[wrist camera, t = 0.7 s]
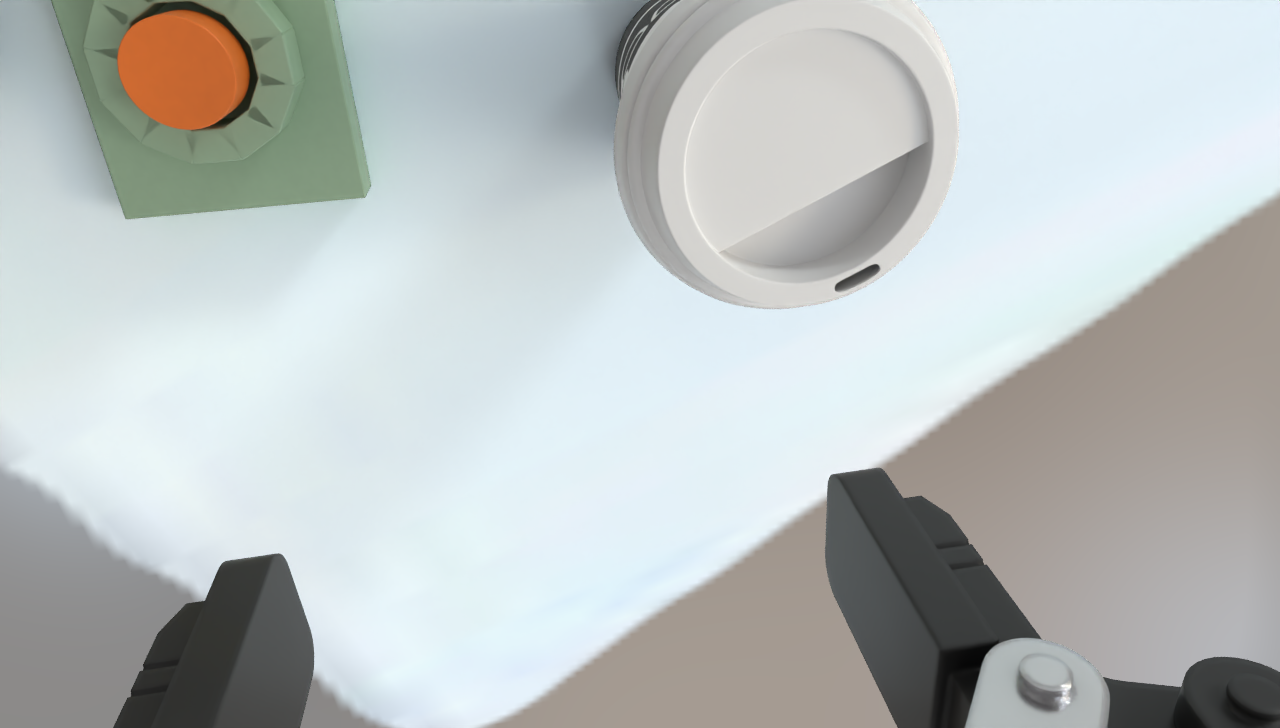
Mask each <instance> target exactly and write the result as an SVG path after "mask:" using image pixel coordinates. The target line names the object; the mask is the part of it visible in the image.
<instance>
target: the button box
mask: <svg viewBox="0 0 1280 728" xmlns="http://www.w3.org/2000/svg"><path fill="white" fill-rule="evenodd" d="M51 2H52V5H53V8H54V10H55V13H56V16H57V19H58V22H59V25H60V28H61V31H62V34H63V37H64V40H65V43H66V46H67V49H68V52H69V55H70V57H71V60H72V63H73V66H74V69H75V72H76V75H77V78H78V81H79V84H80V87H81V90H82V93H83V96H84V99H85V102H86V104H87V107H88V110H89V113H90V116H91V119H92V122H93V125H94V128H95V131H96V134H97V137H98V140H99V143H100V146H101V149H102V151H103V154H104V157H105V160H106V163H107V166H108V169H109V172H110V175H111V178H112V181H113V184H114V187H115V190H116V193H117V196H118V198H119V201H120V204H121V207H122V210H123V213H124V216H125V218H126V219H135V218H146V217H157V216H168V215H179V214H190V213H201V212H212V211H223V210H234V209H245V208H256V207H267V206H278V205H289V204H300V203H311V202H322V201H333V200H344V199H355V198H365V197H366V195H367V193H368V191H369V189H370V187H371V182H370V177H369V172H368V167H367V162H366V157H365V152H364V147H363V142H362V137H361V132H360V127H359V122H358V117H357V112H356V107H355V102H354V97H353V92H352V87H351V82H350V77H349V72H348V67H347V62H346V58H345V53H344V48H343V43H342V38H341V33H340V28H339V23H338V18H337V13H336V8H335V3H334V0H51ZM172 10H192V11H196V12H200V13H203V14H205V15H208V16H210V17H212V18H214V19H216V20H217V21H219V22H220V23H222V24H223V25H224V26H225V27H226V28H228V29H229V30H230V31H231V33H232V34H233V35H234V36H235V37H236V39H237V40H238V41H239V43H240V44H241V46H242V48H243V50H244V52H245V54H246V57H247V60H248V65H249V72H250V79H249V86H248V90H247V93H246V95H245V97H244V99H243V100H242V102H241V103H240V104H239V106H238V107H237V108H235V109H234V110H233V111H232V112H230V113H229V114H228V115H226V116H225V117H224V118H222V119H221V120H219V121H218V122H216V123H215V124H213V125H211V126H208V127H205V128H202V129H195V130H184V129H177V128H172V127H169V126H166V125H163V124H161V123H159V122H157V121H155V120H154V119H152V118H150V117H149V116H148V115H146V114H145V113H144V112H143V111H141V110H140V109H139V108H138V107H137V106H136V105H135V103H134V102H133V101H132V100H131V98H130V97H129V96H128V94H127V93H126V91H125V89H124V87H123V85H122V82H121V79H120V76H119V72H118V65H117V55H118V49H119V46H120V43H121V40H122V39H123V37H124V35H125V34H126V32H127V31H128V30H129V29H130V28H131V27H132V26H133V25H134V24H136V23H137V22H139V21H140V20H142V19H145V18H147V17H151V16H154V15H157V14H161V13H164V12H168V11H172Z"/></svg>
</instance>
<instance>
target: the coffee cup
mask: <svg viewBox="0 0 1280 728" xmlns="http://www.w3.org/2000/svg"><path fill="white" fill-rule="evenodd" d="M615 79H616V87H617V93H618V98H619V107H618V112H617V117H616V124H615V133H614V165H615V174H616V180H617V185H618V189H619V193H620V197H621V200H622V203H623V206H624V209H625V211H626V214H627V216H628V218H629V221H630V223H631V225H632V227H633V229H634V230H635V232H636V234H637V235H638V237H639V239H640V240H641V242H642V243H643V244H644V246H645V247H646V248H647V250H648V251H649V252H650V253H651V255H652V256H653V257H654V258H655V259H656V260H657V261H658V262H659V263H660V264H661V265H662V266H663V267H664V268H665V269H666V270H667V271H669V272H670V273H671V274H672V275H674V276H675V277H676V278H678V279H679V280H681V281H682V282H684V283H685V284H687V285H688V286H690V287H692V288H694V289H696V290H698V291H700V292H702V293H704V294H706V295H708V296H710V297H713V298H715V299H718V300H721V301H724V302H727V303H731V304H735V305H739V306H744V307H751V308H763V309H786V308H796V307H803V306H810V305H816V304H821V303H825V302H829V301H833V300H836V299H839V298H842V297H844V296H847V295H849V294H852V293H854V292H856V291H858V290H860V289H862V288H864V287H866V286H868V285H869V284H871V283H873V282H874V281H876V280H877V279H879V278H880V277H882V276H883V275H885V274H886V273H887V272H889V271H890V270H891V269H892V268H894V267H895V266H896V265H897V264H898V263H899V262H900V261H901V260H903V259H904V258H905V257H906V256H907V255H908V254H909V253H910V251H911V250H912V249H913V248H914V247H915V246H916V245H917V244H918V242H919V241H920V240H921V239H922V237H923V236H924V235H925V233H926V232H927V230H928V229H929V227H930V226H931V224H932V223H933V221H934V219H935V218H936V216H937V214H938V212H939V210H940V208H941V206H942V204H943V202H944V200H945V197H946V195H947V192H948V190H949V187H950V184H951V181H952V177H953V174H954V170H955V165H956V160H957V153H958V143H959V106H958V96H957V90H956V84H955V79H954V75H953V71H952V67H951V64H950V61H949V58H948V55H947V53H946V50H945V48H944V46H943V44H942V42H941V40H940V38H939V36H938V34H937V32H936V30H935V29H934V27H933V26H932V24H931V23H930V21H929V20H928V18H927V17H926V16H925V14H924V13H923V12H922V11H921V9H920V8H919V7H918V6H917V5H916V3H915V2H914V1H913V0H651V1H649V2H648V3H647V4H646V5H645V6H643V7H642V8H641V9H640V10H639V12H638V13H637V14H636V15H635V16H634V18H633V19H632V20H631V22H630V23H629V25H628V27H627V28H626V30H625V32H624V34H623V37H622V39H621V42H620V45H619V48H618V52H617V57H616V66H615Z"/></svg>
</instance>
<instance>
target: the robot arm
mask: <svg viewBox="0 0 1280 728" xmlns="http://www.w3.org/2000/svg"><path fill="white" fill-rule="evenodd" d="M825 558H826V568H827V573H828V578H829V582H830V586H831V589H832V592H833V594H834V597H835V599H836V601H837V603H838V605H839V607H840V609H841V611H842V613H843V615H844V617H845V619H846V622H847V623H848V626H849V628H850V630H851V632H852V634H853V636H854V638H855V640H856V642H857V644H858V646H859V648H860V651H861V653H862V655H863V657H864V659H865V661H866V663H867V665H868V667H869V669H870V671H871V673H872V675H873V677H874V680H875V682H876V684H877V686H878V688H879V690H880V692H881V694H882V696H883V698H884V700H885V702H886V704H887V706H888V709H889V711H890V713H891V715H892V717H893V719H894V721H895V723H896V725H897V727H898V728H1280V672H1278V671H1276V670H1274V669H1272V668H1270V667H1267V666H1264V665H1262V664H1259V663H1256V662H1253V661H1249V660H1245V659H1240V658H1232V657H1213V658H1208V659H1204V660H1202V661H1199V662H1197V663H1195V664H1194V665H1193V666H1191V667H1190V668H1189V670H1188V671H1187V672H1186V675H1185V677H1184V680H1183V683H1182V686H1181V687H1174V686H1165V685H1155V684H1145V683H1136V682H1126V681H1118V680H1113V679H1109V678H1105V677H1102V675H1101V674H1100V673H1099V671H1098V670H1097V669H1096V668H1095V667H1094V666H1093V665H1092V664H1091V663H1090V662H1089V661H1087V660H1086V659H1085V658H1084V657H1082V656H1081V655H1079V654H1078V653H1076V652H1074V651H1073V650H1070V649H1069V648H1067V647H1064V646H1062V645H1059V644H1057V643H1054V642H1050V641H1046V640H1042V639H1041V638H1040V636H1039V635H1038V633H1037V632H1036V631H1035V629H1034V628H1033V627H1032V625H1031V624H1030V623H1029V621H1028V620H1027V619H1026V617H1025V616H1024V615H1023V613H1022V612H1021V611H1020V609H1019V608H1018V606H1017V605H1016V604H1015V602H1014V601H1013V600H1012V598H1011V597H1010V596H1009V594H1008V593H1007V592H1006V590H1005V589H1004V588H1003V586H1002V585H1001V583H1000V582H999V581H998V579H997V578H996V577H995V575H994V574H993V572H992V571H991V570H990V568H989V567H988V566H987V565H984V563H983V559H982V558H981V556H980V555H979V554H978V552H977V551H976V549H975V548H974V547H973V545H971V544H970V545H969V543H968V539H967V537H966V536H965V535H964V533H963V532H962V530H961V529H960V528H959V526H958V525H957V524H956V522H955V521H954V520H953V519H952V517H951V516H950V515H949V514H948V513H946V512H945V511H943V510H942V509H940V508H939V507H937V506H936V505H934V504H933V503H931V502H930V501H928V500H927V499H925V498H924V497H922V496H916V497H909V498H903V497H902V496H901V494H900V493H899V492H898V490H897V489H896V487H895V486H894V484H893V483H892V481H891V480H890V478H889V477H888V475H887V474H886V473H885V471H884V470H883V469H881V468H873V469H866V470H859V471H853V472H846V473H839V474H832V475H831V476H830V478H829V481H828V489H827V519H826V547H825ZM143 667H144V669H143V671H140V672H139V674H138V677H137V679H136V681H135V683H134V685H133V687H132V689H131V697H129V698H127V700H126V702H125V704H124V706H123V708H122V710H121V713H120V715H119V717H118V719H117V721H116V723H115V725H114V727H113V728H300V725H301V721H302V717H303V713H304V709H305V705H306V701H307V697H308V693H309V689H310V685H311V681H312V676H313V670H314V647H313V639H312V634H311V631H310V628H309V625H308V622H307V619H306V616H305V613H304V610H303V607H302V604H301V601H300V598H299V595H298V593H297V590H296V587H295V584H294V581H293V578H292V575H291V572H290V569H289V566H288V564H287V561H286V560H285V558H284V557H283V555H281V554H279V553H278V554H271V555H264V556H258V557H251V558H244V559H237V560H230V561H225V562H223V563H222V564H221V566H220V567H219V569H218V572H217V574H216V576H215V579H214V581H213V583H212V586H211V588H210V590H209V593H208V595H207V597H206V600H205V601H201V602H194V603H188V604H186V605H185V606H184V607H183V608H182V609H181V610H180V611H179V612H178V613H177V614H176V615H175V616H174V617H173V618H172V619H171V620H170V621H169V622H168V623H167V624H166V625H165V627H164V628H163V629H162V630H161V631H160V632H159V633H158V634H157V636H156V639H155V641H154V643H153V645H152V647H151V649H150V651H149V653H148V655H147V658H146V660H145V662H144V664H143Z"/></svg>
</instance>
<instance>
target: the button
mask: <svg viewBox="0 0 1280 728" xmlns="http://www.w3.org/2000/svg"><path fill="white" fill-rule="evenodd" d="M117 65H118V72H119V76H120V79H121V82H122V85H123V87H124V89H125V91H126V93H127V94H128V96H129V97H130V98H131V100H132V101H133V102H134V103H135V105H136V106H137V107H138V108H139V109H140V110H141V111H143V112H144V113H145V114H146V115H148V116H149V117H150V118H152V119H154V120H155V121H157V122H159V123H161V124H163V125H166V126H169V127H172V128H177V129H184V130H195V129H202V128H205V127H208V126H211V125H213V124H215V123H216V122H218V121H219V120H221V119H222V118H224V117H225V116H226V115H228V114H229V113H230V112H232V111H233V110H234V109H235V108H237V107H238V106H239V104H240V103H241V102H242V100H243V99H244V97H245V95H246V93H247V90H248V86H249V79H250V72H249V65H248V60H247V57H246V54H245V52H244V50H243V48H242V46H241V44H240V43H239V41H238V40H237V39H236V37H235V36H234V35H233V34H232V33H231V31H230V30H229V29H228V28H226V27H225V26H224V25H223V24H222V23H220V22H219V21H217V20H216V19H214V18H212V17H210V16H208V15H205V14H203V13H200V12H196V11H192V10H172V11H168V12H164V13H161V14H157V15H154V16H151V17H147V18H145V19H142V20H140V21H139V22H137V23H136V24H134V25H133V26H132V27H131V28H130V29H129V30H128V31H127V32H126V34H125V35H124V37H123V39H122V40H121V43H120V46H119V49H118V55H117Z"/></svg>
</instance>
